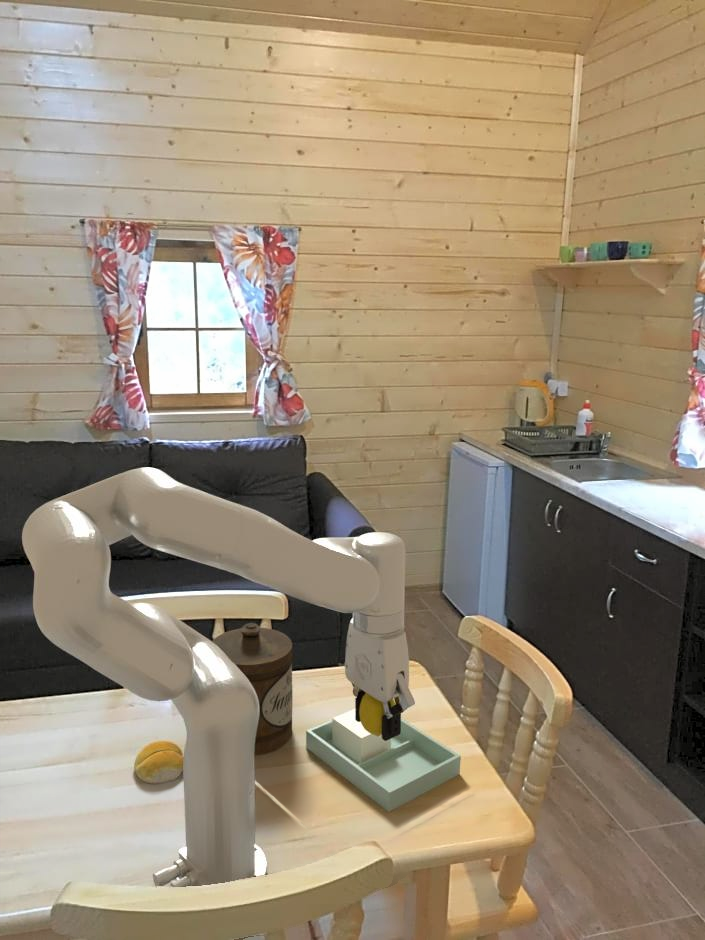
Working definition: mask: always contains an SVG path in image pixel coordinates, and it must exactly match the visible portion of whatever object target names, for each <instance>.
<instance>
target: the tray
mask: <svg viewBox="0 0 705 940" xmlns="http://www.w3.org/2000/svg"><path fill="white" fill-rule="evenodd" d="M305 735H306V736H305V742H306V743H305V748H306V749H307V750H308V751H310V752H311V754H313V755H315V756H316V757H317V758H319V759H320V760H321V761H323V762H324V763H325V764H326V765H327V766H329V767H330V768H332V770H334V771H335V772H337V773H338V774H339V775H341V776H342V777H343V778H344V779H346V780H347V781H348V782H350V783H351V784H353V786H354V787H356V788H358V790H360V791H361V792H363V794H365V795H366V796H367V797H369V798H370V799H371V800H373V801H374V802H375V803H377V804H378V805H379V806H380V807H382V808H383V809H384V810H385V811H386V812H388V813H389V812H392V811H394V810H396V809H398V808H399V807H401V806H403V805H405V804H407V803H408V802H410V801H412V800H414V799H416V798H418V797H420V796H421V795H423V794H425V793H427V792H430V790H433V789H434V788H436V787H438V786H440V785H441V784H444V783H446V782H448V781H449V780H451V779H453V778H455V777H457V776H458V775H460V774H461V760H462V759H461V758H462V756H461V755H460V754H458V753H457V752H455V751H454V750H452V749H450V748H449V747H447V746H446V745H444V744H443V743H441V742H439V740H438V741H437V740H436V739H435V738H433V737H432V736H431V735H428V734H427V733H425V732H423V731H422V730H421V729H419V728H417V727H416V726H415V725H413V724H411V723H410V722H408V721H406V719H405V720H404V719H403V718H401V733H400V734H399V735H398V736H396V737H393V738H392V740H391V749H389V750H387V751H385V752H383V753H381V754H379V755H377V756H375V757H372V758H370V759H368V760H366V761H364V762H362V763H358V762H357V761H356V760H354V759H353V758H352V757H350V756H349V755H348V754H346V753H345V752H344V751H342V750H341V749H339V748H338V747H337V746H335V745H334V744H333V743H332V719H331V720H327V721H325V722H324V723H321V724H318V725H316V726H314V727H312V728H308V729H306V731H305Z"/></svg>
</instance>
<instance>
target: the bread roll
mask: <svg viewBox="0 0 705 940" xmlns="http://www.w3.org/2000/svg"><path fill="white" fill-rule="evenodd" d="M183 755H184V752H183V751H182V749H181V747H180V746H178V745H177V744H175V743H174V742H172V741H168V740H158V741H157V740H156V741H153V742H151V743H149V744H147V745H145V746H144V747H143V748H142V749H141V750H140V751H139V753H138V755H137V756H136V757H135V760H134V764H133V765H134V766H133V767H134V768H133V769H134V771H135V773H136V775H137V776H136V777H138V778H139V779H140V780H141V781H142V782H144V783H148V784H151V785H153V784H162V783H168V782H171V781H173V780H175V779H178V777H179V776H180V775H181V774H182V773H183Z"/></svg>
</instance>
